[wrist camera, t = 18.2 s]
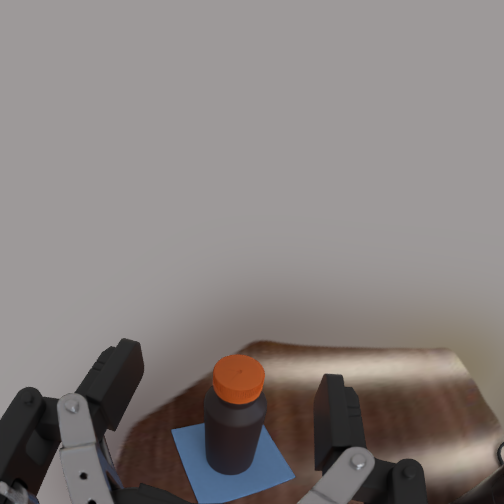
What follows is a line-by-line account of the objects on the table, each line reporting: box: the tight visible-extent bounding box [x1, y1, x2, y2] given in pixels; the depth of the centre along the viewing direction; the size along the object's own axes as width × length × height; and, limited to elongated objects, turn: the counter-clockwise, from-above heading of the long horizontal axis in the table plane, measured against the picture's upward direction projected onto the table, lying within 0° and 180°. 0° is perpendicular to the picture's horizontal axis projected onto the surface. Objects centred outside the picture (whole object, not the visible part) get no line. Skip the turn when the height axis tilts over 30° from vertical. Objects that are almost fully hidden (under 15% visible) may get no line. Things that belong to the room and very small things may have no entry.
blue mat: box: [171, 423, 295, 504], centre depth 35 cm, size 14×14×1 cm
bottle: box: [204, 355, 267, 475], centre depth 31 cm, size 7×7×20 cm
